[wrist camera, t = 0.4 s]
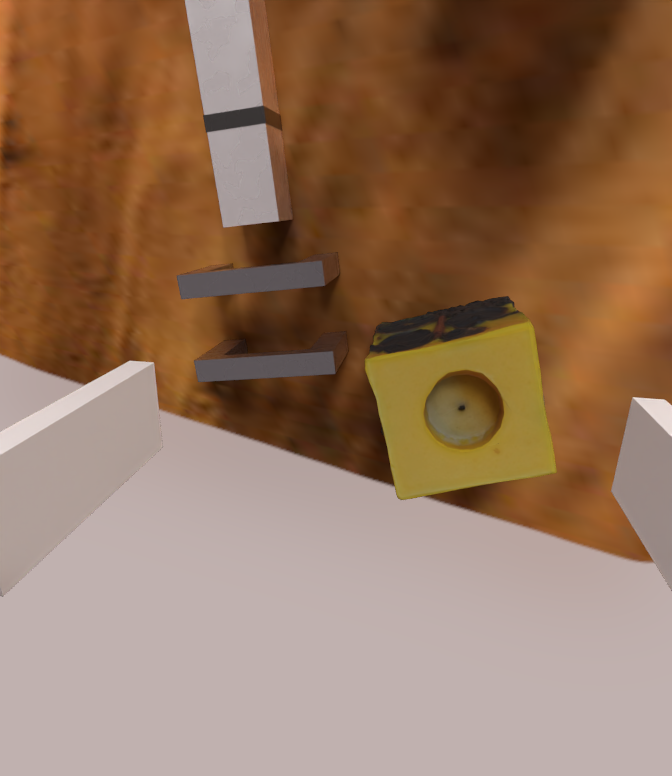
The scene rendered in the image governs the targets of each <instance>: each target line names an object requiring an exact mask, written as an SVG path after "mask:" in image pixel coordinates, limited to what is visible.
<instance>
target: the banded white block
mask: <svg viewBox="0 0 672 776" xmlns="http://www.w3.org/2000/svg"><path fill="white" fill-rule="evenodd" d="M185 5H186V11H187V16H188V22H189V28H190V34H191V40H192V46H193V52H194V58H195V64H196V69H197V75H198V81H199V87H200V93H201V99H202V105H203V111H204V115H203V117H204V123H205V128H206V132H207V134H208V140H209V146H210V152H211V158H212V164H213V170H214V175H215V181H216V187H217V193H218V199H219V205H220V211H221V217H222V223H223V228H224V227H233V226H241V225H250V224H259V223H267V222H276V221H284V220H292V219H293V215H292V207H291V200H290V192H289V184H288V177H287V169H286V161H285V153H284V146H283V138H282V125H281V117H280V114H279V107H278V100H277V92H276V84H275V76H274V69H273V61H272V53H271V46H270V38H269V30H268V22H267V15H266V7H265V0H185Z"/></svg>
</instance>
